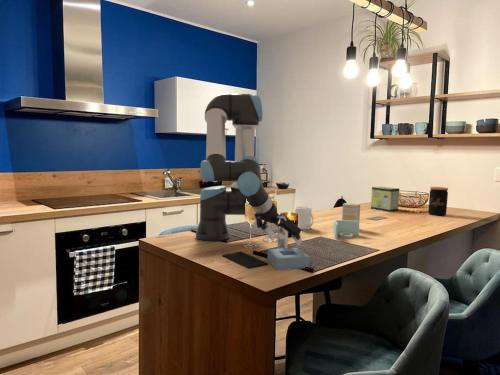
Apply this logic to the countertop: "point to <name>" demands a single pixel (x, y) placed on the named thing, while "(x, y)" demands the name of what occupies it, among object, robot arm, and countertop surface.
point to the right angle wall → (346, 228)
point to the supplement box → (351, 212)
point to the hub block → (288, 258)
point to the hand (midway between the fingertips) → (286, 239)
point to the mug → (304, 217)
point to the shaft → (282, 238)
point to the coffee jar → (438, 201)
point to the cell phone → (245, 259)
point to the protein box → (385, 199)
